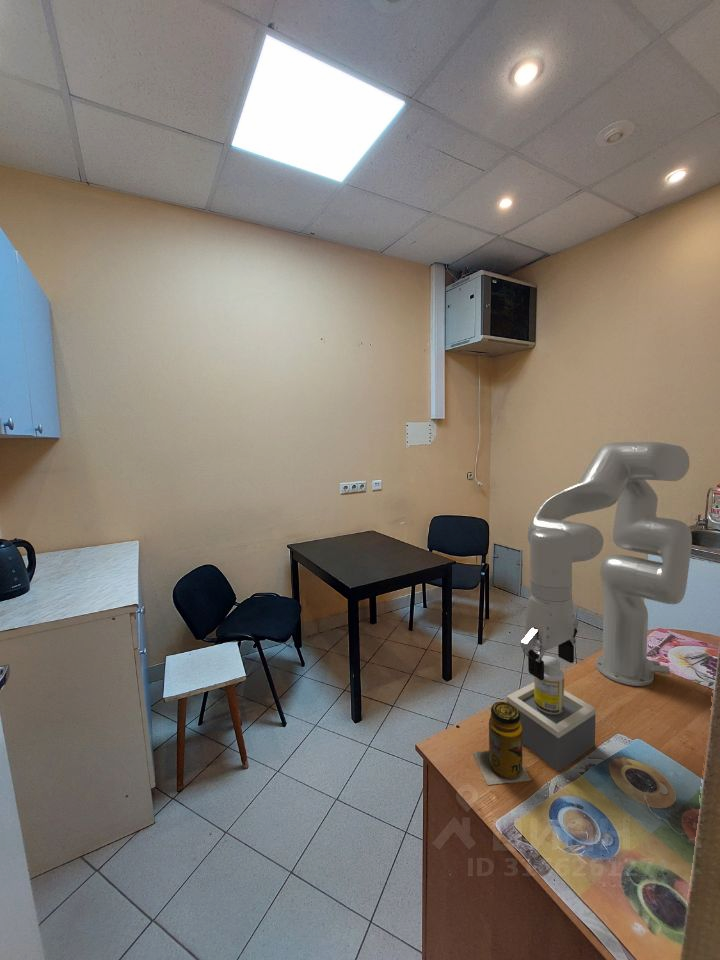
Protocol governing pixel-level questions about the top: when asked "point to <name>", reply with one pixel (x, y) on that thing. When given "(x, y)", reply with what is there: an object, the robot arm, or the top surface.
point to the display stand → (555, 728)
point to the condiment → (503, 747)
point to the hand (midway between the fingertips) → (551, 667)
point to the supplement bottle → (550, 687)
